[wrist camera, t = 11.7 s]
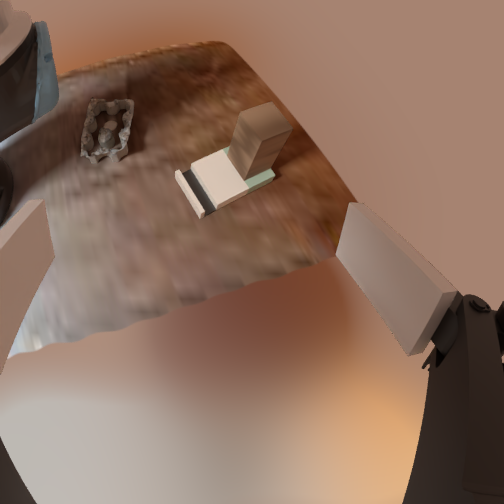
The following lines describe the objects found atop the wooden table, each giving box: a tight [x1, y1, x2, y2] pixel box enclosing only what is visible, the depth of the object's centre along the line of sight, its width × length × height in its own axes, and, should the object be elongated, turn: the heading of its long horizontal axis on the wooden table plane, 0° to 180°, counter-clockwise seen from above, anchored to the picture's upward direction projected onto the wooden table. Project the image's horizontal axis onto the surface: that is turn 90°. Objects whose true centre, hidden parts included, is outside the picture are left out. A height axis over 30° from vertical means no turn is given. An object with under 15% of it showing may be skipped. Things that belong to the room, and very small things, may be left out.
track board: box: [175, 146, 275, 219], centre depth 43 cm, size 7×12×2 cm, turn 123°
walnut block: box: [227, 101, 293, 181], centre depth 38 cm, size 4×4×10 cm
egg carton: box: [81, 97, 134, 164], centre depth 40 cm, size 11×8×4 cm
